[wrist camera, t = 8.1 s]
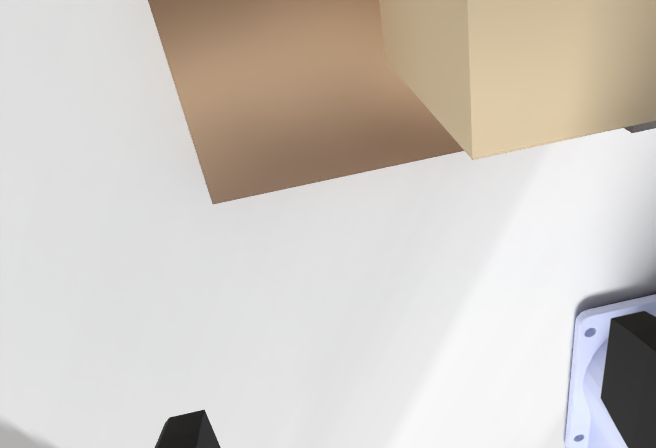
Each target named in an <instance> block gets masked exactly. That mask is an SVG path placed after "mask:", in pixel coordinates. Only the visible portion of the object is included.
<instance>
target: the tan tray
mask: <svg viewBox="0 0 656 448" xmlns="http://www.w3.org/2000/svg"><path fill="white" fill-rule="evenodd" d="M148 1H149V5H150V8H151V11H152V14H153V17H154V20H155V24H156V27H157V30H158V33H159V36H160V39H161V42H162V46H163V49H164V52H165V55H166V58H167V61H168V65H169V68H170V71H171V74H172V77H173V80H174V83H175V87H176V90H177V93H178V96H179V99H180V102H181V106H182V109H183V112H184V115H185V118H186V121H187V124H188V128H189V131H190V134H191V137H192V140H193V143H194V147H195V150H196V153H197V156H198V159H199V162H200V165H201V169H202V172H203V175H204V178H205V181H206V184H207V188H208V191H209V194H210V197H211V200H212V203H213V204H217V203H221V202H226V201H231V200H235V199H240V198H245V197H249V196H254V195H259V194H264V193H268V192H273V191H278V190H282V189H287V188H292V187H296V186H301V185H306V184H310V183H315V182H320V181H324V180H329V179H334V178H338V177H343V176H348V175H352V174H357V173H362V172H366V171H371V170H376V169H381V168H385V167H390V166H395V165H399V164H404V163H409V162H413V161H418V160H423V159H427V158H432V157H437V156H441V155H446V154H451V153H455V152H460V151H464V149H463V148H462V147H461V146H460V145H459V144H458V143H457V141H456V140H455V139H454V138H453V137H452V136H451V135H450V133H449V132H448V131H447V130H446V129H445V128H444V127H443V125H442V124H441V123H440V122H439V121H438V120H437V119H436V117H435V116H434V115H433V114H432V113H431V112H430V111H429V109H428V108H427V107H426V106H425V105H424V104H423V103H422V102H421V100H420V99H419V98H418V97H417V96H416V95H415V94H414V92H413V91H412V90H411V89H410V88H409V87H408V86H407V84H406V83H405V82H404V81H403V80H402V79H401V78H400V76H399V75H398V74H397V73H396V72H395V71H394V70H393V68H392V67H391V66H390V65H389V64H388V63H387V62H386V57H385V48H384V39H383V30H382V21H381V13H380V4H379V0H148ZM624 128H625V129H626V130H628V131H630V132H631V133H635V132H640V131H644V130H649V129H654V128H656V121H652V122H647V123H643V124H638V125H633V126H629V127H624Z"/></svg>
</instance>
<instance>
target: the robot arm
mask: <svg viewBox="0 0 656 448" xmlns="http://www.w3.org/2000/svg"><path fill="white" fill-rule="evenodd" d="M587 329H588V330H587ZM155 448H220V446H219V443H218V441H217V438H216V436H215V434H214V431H213V429H212V426H211V424H210V422H209V419H208V417H207V415H206V412H205V410H201V411H197V412H192V413H188V414H183V415H179V416H175V417H170V418H169V419H168V420H167V422H166V423H165V425H164V427H163V430H162V432H161V434H160V437H159V439H158V442H157V444H156V446H155ZM565 448H656V294H655V295H650V296H646V297H641V298H637V299H632V300H628V301H623V302H619V303H614V304H610V305H606V306H601V307H597V308H592V309H588V310H585V311H583V312H581V313H580V314H579V315H578V316H577V318H576V322H575V334H574V345H573V357H572V368H571V380H570V391H569V403H568V414H567V426H566V437H565Z"/></svg>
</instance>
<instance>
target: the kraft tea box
mask: <svg viewBox="0 0 656 448" xmlns="http://www.w3.org/2000/svg"><path fill="white" fill-rule="evenodd" d="M379 4H380V13H381V21H382V30H383V39H384V48H385V57H386V62H387V63H388V64H389V65H390V66H391V67H392V68H393V70H394V71H395V72H396V73H397V74H398V75H399V76H400V78H401V79H402V80H403V81H404V82H405V83H406V84H407V86H408V87H409V88H410V89H411V90H412V91H413V92H414V94H415V95H416V96H417V97H418V98H419V99H420V100H421V102H422V103H423V104H424V105H425V106H426V107H427V108H428V109H429V111H430V112H431V113H432V114H433V115H434V116H435V117H436V119H437V120H438V121H439V122H440V123H441V124H442V125H443V127H444V128H445V129H446V130H447V131H448V132H449V133H450V135H451V136H452V137H453V138H454V139H455V140H456V141H457V143H458V144H459V145H460V146H461V147H462V148H463V149H464V151H465V152H466V153H467V154H468V155H469V156H470V157H471V159H472V160H475V159H479V158H484V157H489V156H493V155H498V154H503V153H507V152H512V151H517V150H521V149H526V148H531V147H535V146H540V145H545V144H549V143H554V142H559V141H563V140H568V139H573V138H577V137H582V136H587V135H591V134H596V133H601V132H605V131H610V130H615V129H619V128H624V127H629V126H633V125H638V124H643V123H647V122H652V121H656V0H379Z"/></svg>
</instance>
